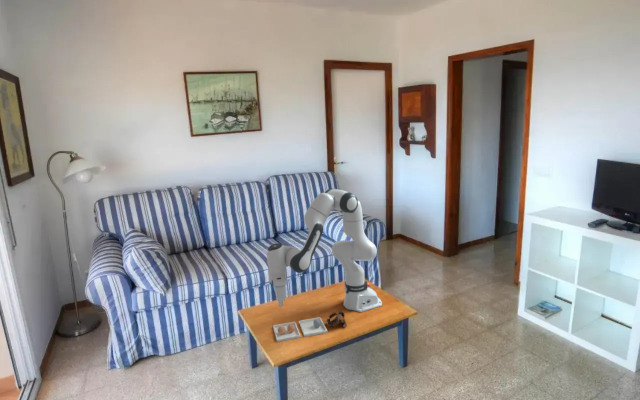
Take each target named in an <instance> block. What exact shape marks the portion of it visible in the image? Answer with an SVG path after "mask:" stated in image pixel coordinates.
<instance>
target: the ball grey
mask: <svg viewBox="0 0 640 400" xmlns="http://www.w3.org/2000/svg"><path fill="white" fill-rule="evenodd" d="M313 324H314V326H315V327H320V325H321V321H320V320H318V319H316V320H315V321H314V323H313Z"/></svg>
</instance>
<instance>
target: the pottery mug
mask: <svg viewBox="0 0 640 400" xmlns="http://www.w3.org/2000/svg"><path fill="white" fill-rule="evenodd" d="M333 317H334V318H333ZM332 318H333V320H332ZM326 322H327V326H328V327H334V326H335V324H340V322H343V325H342V327H343V329H345V328H347V326H348V325H347V323H346V319H345V312H344V311H342V310H341V311H338V312H337V311H336V312H333V313H331V314H330V315H329V316H328V318H327V319H326Z"/></svg>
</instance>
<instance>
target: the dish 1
mask: <svg viewBox="0 0 640 400" xmlns="http://www.w3.org/2000/svg"><path fill="white" fill-rule="evenodd" d="M296 322H297V321H290V322H285V323H280V324H274V325H272V327H273V329H272V330H273V332H274V337H275V339H276V342H277V343H280V342H283V341H284V342H286V341H290V340H295V339H300V338H301V337H302V336H301V333H300V330H299V328H298V325H297V323H296ZM289 324H293V325H294V326H295V330H294V331H293V332H289V331H288V330H287V327H288V325H289ZM280 326H283V327H285V330H286V331H285V333H284V334H279V333H278V328H279V327H280Z"/></svg>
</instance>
